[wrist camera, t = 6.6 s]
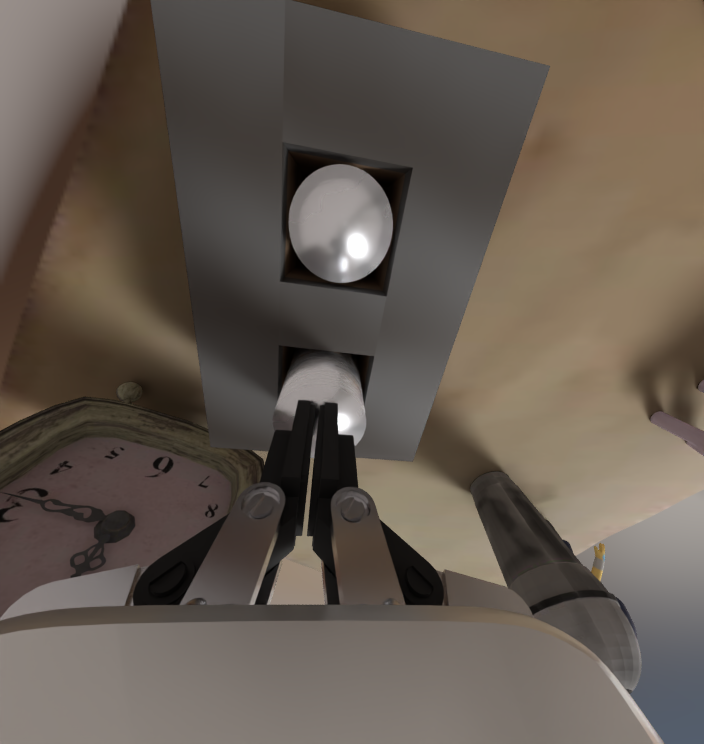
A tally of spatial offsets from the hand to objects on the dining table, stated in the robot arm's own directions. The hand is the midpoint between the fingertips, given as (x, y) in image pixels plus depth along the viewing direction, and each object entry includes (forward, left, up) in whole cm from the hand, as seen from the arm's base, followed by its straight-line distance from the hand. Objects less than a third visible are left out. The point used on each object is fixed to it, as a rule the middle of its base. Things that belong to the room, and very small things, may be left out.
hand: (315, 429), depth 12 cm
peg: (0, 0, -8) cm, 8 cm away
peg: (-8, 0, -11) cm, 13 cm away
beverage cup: (+15, +20, -11) cm, 28 cm away
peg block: (-5, 0, -11) cm, 12 cm away
